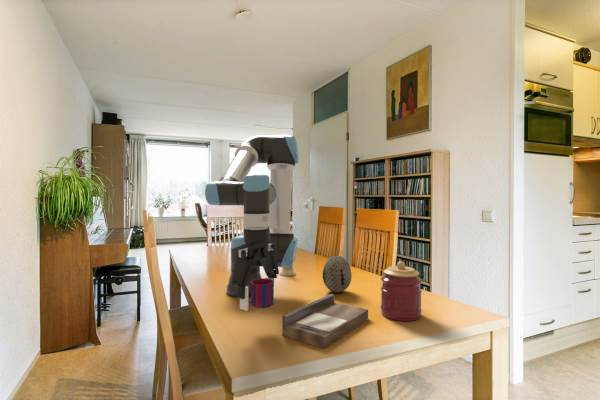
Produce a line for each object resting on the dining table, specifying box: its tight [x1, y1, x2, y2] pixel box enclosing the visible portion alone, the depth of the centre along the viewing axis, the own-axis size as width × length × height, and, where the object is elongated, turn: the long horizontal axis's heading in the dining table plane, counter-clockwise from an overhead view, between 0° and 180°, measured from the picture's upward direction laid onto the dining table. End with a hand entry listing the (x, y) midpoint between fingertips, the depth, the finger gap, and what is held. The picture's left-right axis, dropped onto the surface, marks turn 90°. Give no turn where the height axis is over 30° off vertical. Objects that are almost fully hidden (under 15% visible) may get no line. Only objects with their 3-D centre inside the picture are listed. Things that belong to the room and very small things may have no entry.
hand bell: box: [278, 265, 297, 277], centre depth 168 cm, size 8×8×16 cm
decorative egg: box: [322, 254, 352, 293], centre depth 137 cm, size 12×12×15 cm
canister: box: [380, 260, 423, 322], centre depth 111 cm, size 13×13×18 cm
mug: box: [247, 277, 275, 309], centre depth 98 cm, size 7×10×7 cm
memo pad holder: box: [281, 293, 369, 349], centre depth 101 cm, size 14×26×6 cm, turn 144°
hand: (257, 304), depth 98 cm, fingers closed on mug, 10 cm apart
